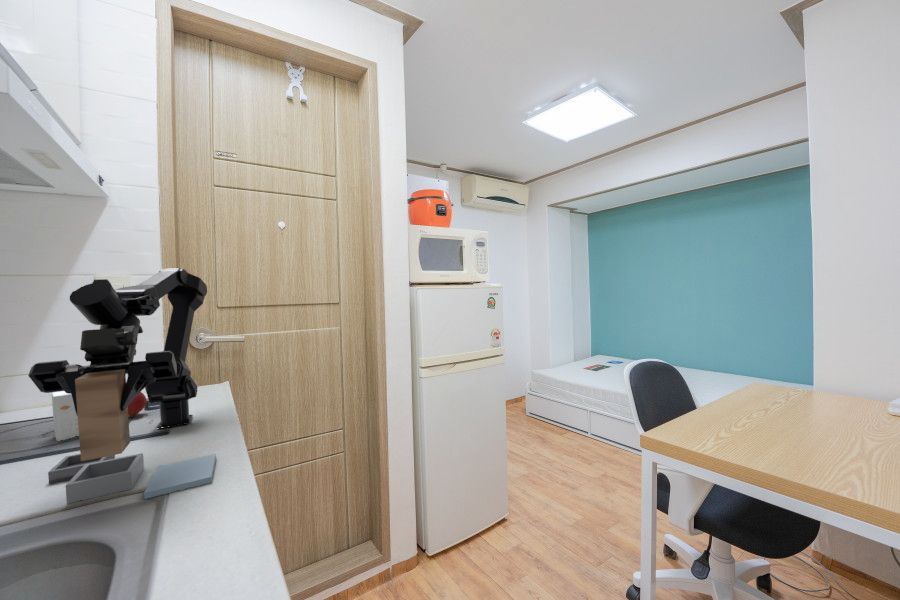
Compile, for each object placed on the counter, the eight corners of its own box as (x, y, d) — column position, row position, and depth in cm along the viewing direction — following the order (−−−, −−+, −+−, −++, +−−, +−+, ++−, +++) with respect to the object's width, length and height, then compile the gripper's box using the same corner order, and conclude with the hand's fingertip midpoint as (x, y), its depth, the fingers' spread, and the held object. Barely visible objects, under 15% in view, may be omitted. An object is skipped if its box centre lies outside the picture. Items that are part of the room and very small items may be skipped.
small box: (101, 425, 90) (98, 384, 90) (105, 430, 87) (102, 387, 86) (54, 436, 84) (51, 392, 83) (56, 442, 80) (52, 396, 80)
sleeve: (86, 480, 63) (85, 464, 63) (144, 468, 67) (143, 452, 67) (66, 503, 56) (65, 485, 56) (132, 488, 60) (131, 471, 60)
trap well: (66, 466, 69) (65, 456, 69) (114, 457, 72) (114, 447, 72) (48, 483, 63) (48, 472, 63) (102, 472, 66) (101, 461, 66)
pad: (157, 471, 66) (157, 466, 66) (216, 458, 70) (215, 453, 70) (144, 499, 57) (143, 492, 57) (211, 482, 61) (211, 476, 61)
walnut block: (92, 449, 62) (87, 373, 62) (130, 442, 65) (125, 369, 64) (81, 461, 58) (74, 379, 57) (121, 453, 61) (116, 374, 60)
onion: (132, 412, 99) (131, 384, 99) (152, 412, 99) (151, 383, 99) (112, 420, 93) (110, 390, 93) (133, 420, 93) (131, 390, 93)
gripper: (29, 315, 59) (-6, 398, 50) (170, 308, 68) (162, 378, 59) (55, 354, 66) (28, 433, 57) (179, 344, 76) (173, 410, 67)
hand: (101, 412), depth 60 cm, fingers closed on walnut block, 5 cm apart
